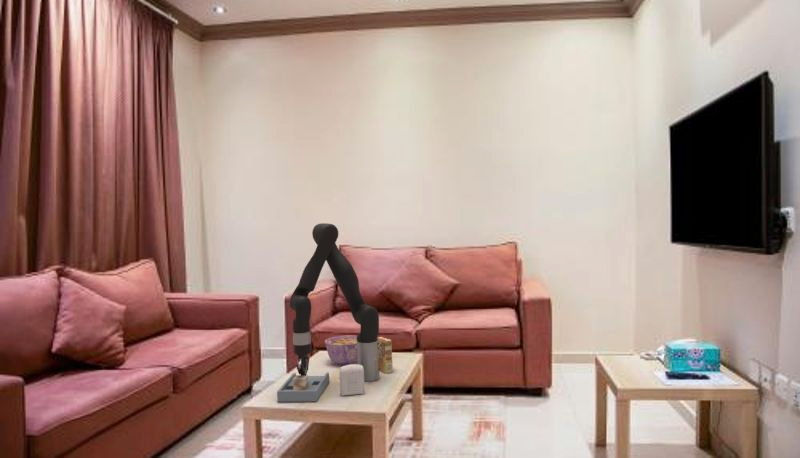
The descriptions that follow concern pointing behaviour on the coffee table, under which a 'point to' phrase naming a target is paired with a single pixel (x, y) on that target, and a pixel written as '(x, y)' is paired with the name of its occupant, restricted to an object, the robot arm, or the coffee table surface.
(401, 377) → the coffee table surface
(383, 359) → the candy box
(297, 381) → the cream cube
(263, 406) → the coffee table surface
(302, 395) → the track
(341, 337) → the bowl of food
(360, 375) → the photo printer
